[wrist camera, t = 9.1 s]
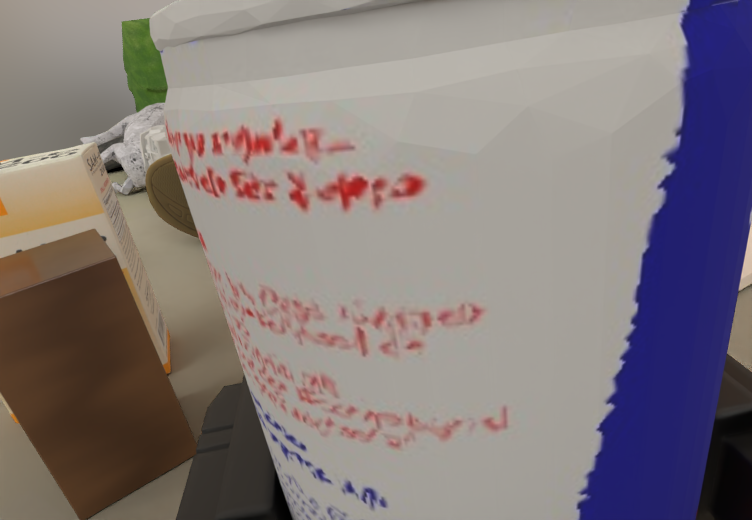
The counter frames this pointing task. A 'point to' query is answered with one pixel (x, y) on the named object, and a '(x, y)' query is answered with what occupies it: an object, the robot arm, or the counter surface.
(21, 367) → the walnut block
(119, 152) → the statue
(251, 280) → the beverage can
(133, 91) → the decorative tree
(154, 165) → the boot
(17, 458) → the counter surface
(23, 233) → the supplement box
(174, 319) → the counter surface
